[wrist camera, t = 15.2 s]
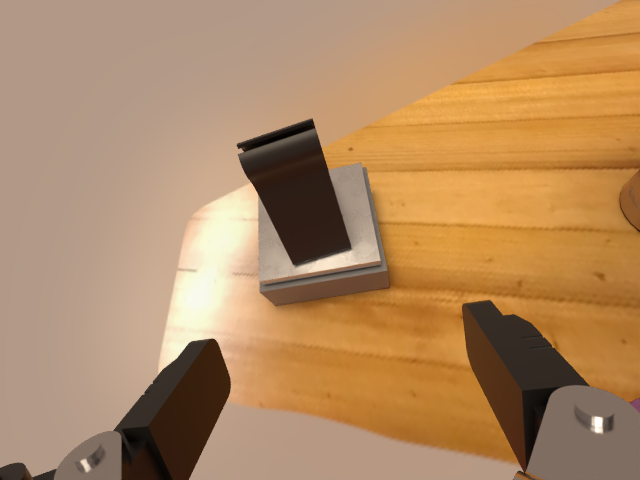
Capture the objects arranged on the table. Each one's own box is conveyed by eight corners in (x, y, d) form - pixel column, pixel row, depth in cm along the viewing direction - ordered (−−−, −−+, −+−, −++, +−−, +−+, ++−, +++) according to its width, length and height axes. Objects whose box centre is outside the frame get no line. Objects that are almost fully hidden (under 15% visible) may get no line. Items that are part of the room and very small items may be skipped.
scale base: (368, 187, 43) (364, 161, 38) (389, 287, 36) (387, 270, 32) (272, 207, 45) (259, 184, 40) (275, 305, 38) (259, 292, 34)
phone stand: (279, 195, 37) (232, 110, 26) (331, 179, 36) (303, 85, 26) (293, 266, 32) (242, 197, 22) (352, 249, 32) (328, 170, 22)
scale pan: (361, 168, 37) (360, 162, 37) (381, 264, 32) (380, 260, 31) (261, 190, 39) (258, 185, 38) (262, 285, 33) (258, 281, 32)
